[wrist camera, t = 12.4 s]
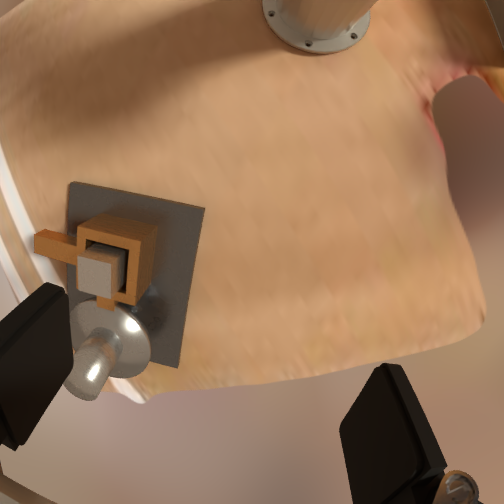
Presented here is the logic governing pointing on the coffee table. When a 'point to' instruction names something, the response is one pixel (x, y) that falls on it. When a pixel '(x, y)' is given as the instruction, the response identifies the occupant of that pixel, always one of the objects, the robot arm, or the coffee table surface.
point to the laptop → (497, 16)
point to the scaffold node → (134, 289)
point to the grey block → (102, 269)
